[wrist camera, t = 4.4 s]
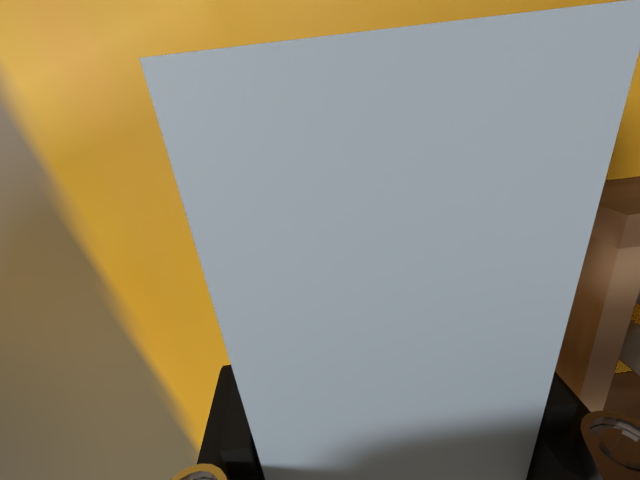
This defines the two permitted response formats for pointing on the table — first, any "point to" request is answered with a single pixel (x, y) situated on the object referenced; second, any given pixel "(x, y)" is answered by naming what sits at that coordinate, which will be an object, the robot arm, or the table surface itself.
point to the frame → (607, 307)
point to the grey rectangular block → (398, 229)
